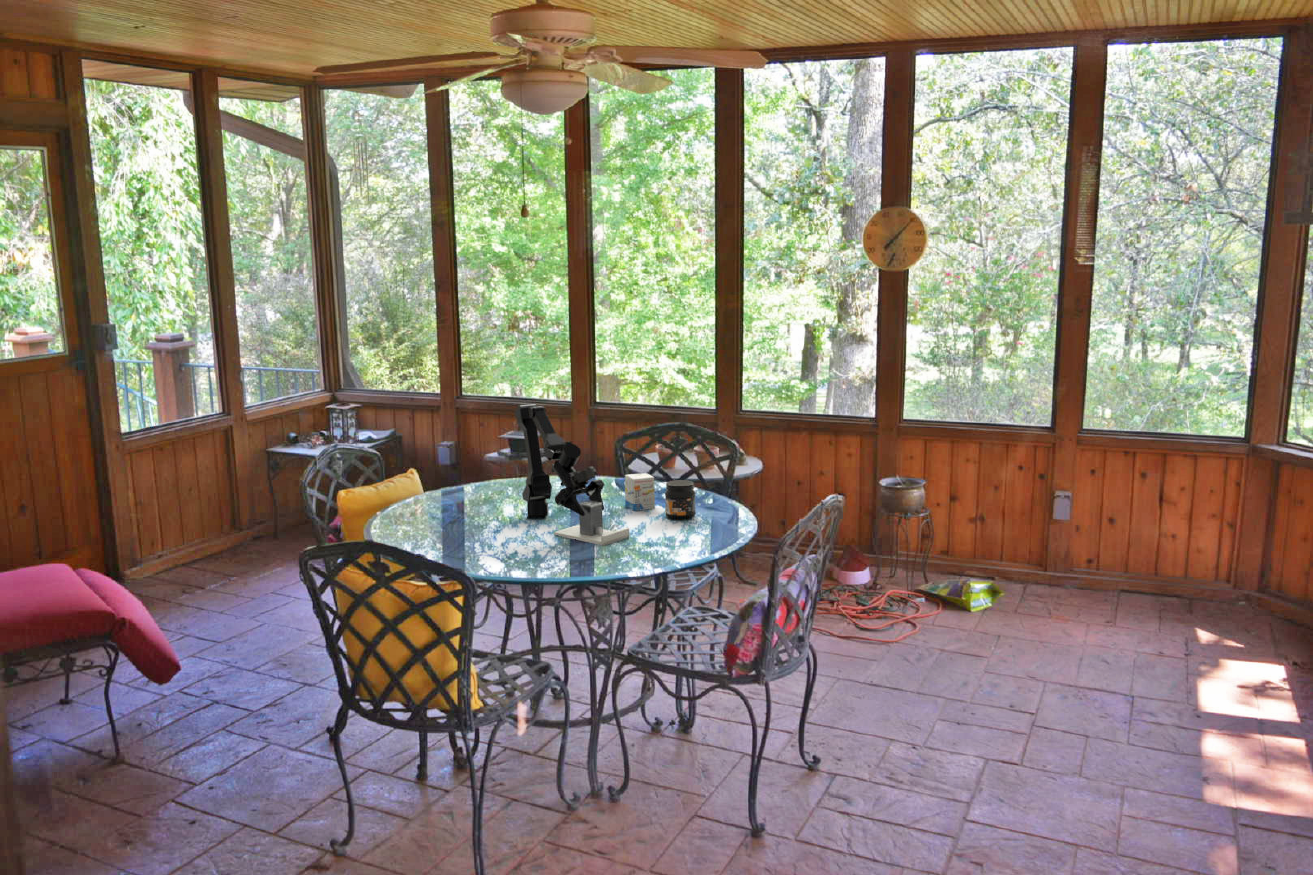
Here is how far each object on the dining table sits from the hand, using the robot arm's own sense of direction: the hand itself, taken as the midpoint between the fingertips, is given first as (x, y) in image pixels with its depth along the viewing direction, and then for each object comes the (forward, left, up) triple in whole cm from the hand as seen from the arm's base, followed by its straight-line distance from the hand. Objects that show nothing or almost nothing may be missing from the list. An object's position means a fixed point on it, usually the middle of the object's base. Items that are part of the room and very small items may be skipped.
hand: (593, 512), depth 344 cm
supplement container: (+27, +26, -8) cm, 38 cm away
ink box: (+12, +40, -8) cm, 42 cm away
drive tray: (-1, +1, -8) cm, 8 cm away
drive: (-1, +1, -7) cm, 7 cm away
